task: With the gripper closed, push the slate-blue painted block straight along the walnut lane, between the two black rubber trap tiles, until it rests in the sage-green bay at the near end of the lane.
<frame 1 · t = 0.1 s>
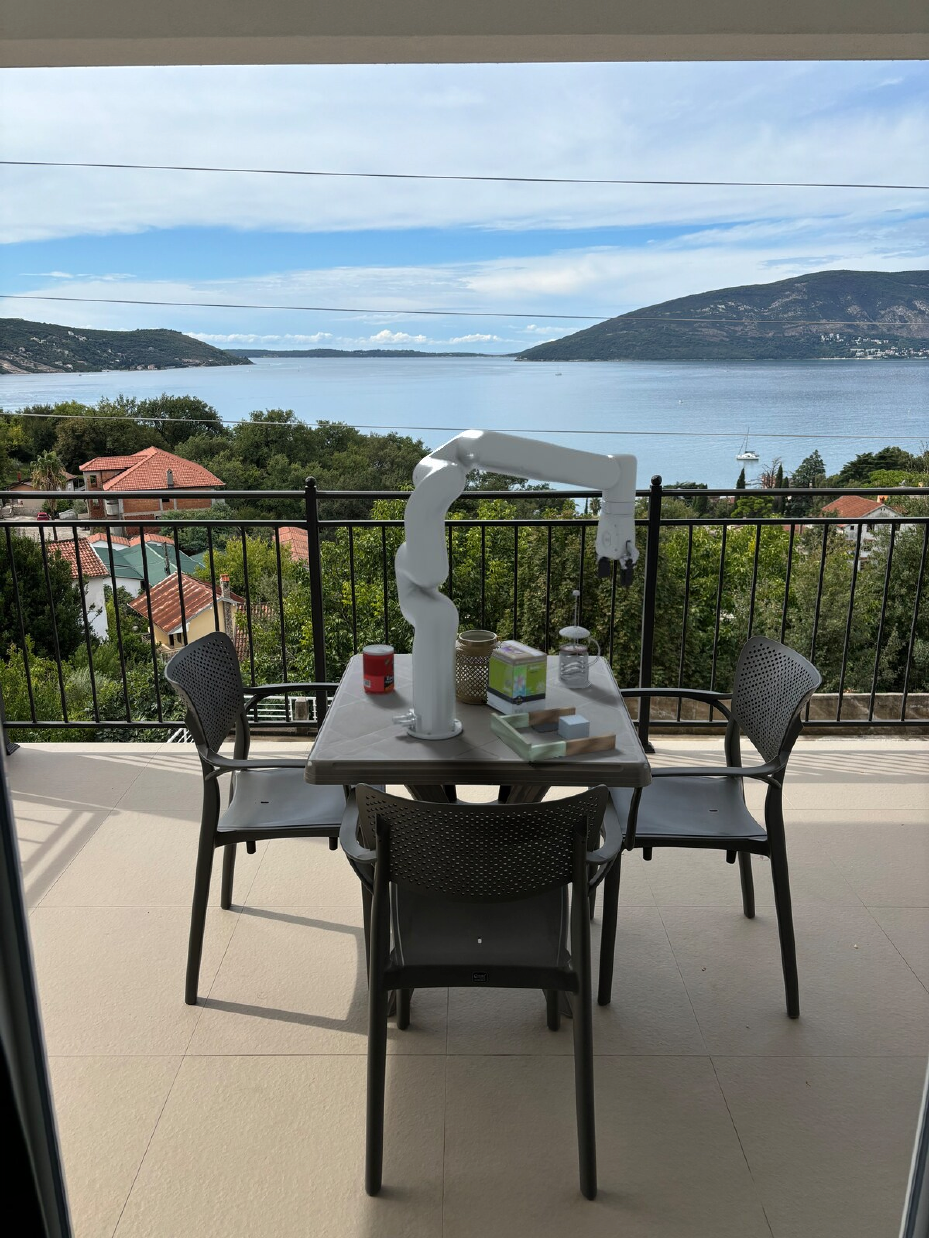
hand: (614, 581, 205), 31 cm above the table, tool pointing down, fingers open, 9 cm apart
canned food: (379, 690, 223), on the table
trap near: (593, 744, 189), on the table
trap lane: (551, 738, 192), on the table
block: (573, 736, 194), on the table
tea box: (512, 707, 212), on the table
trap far: (546, 727, 198), on the table
french press: (576, 683, 230), on the table
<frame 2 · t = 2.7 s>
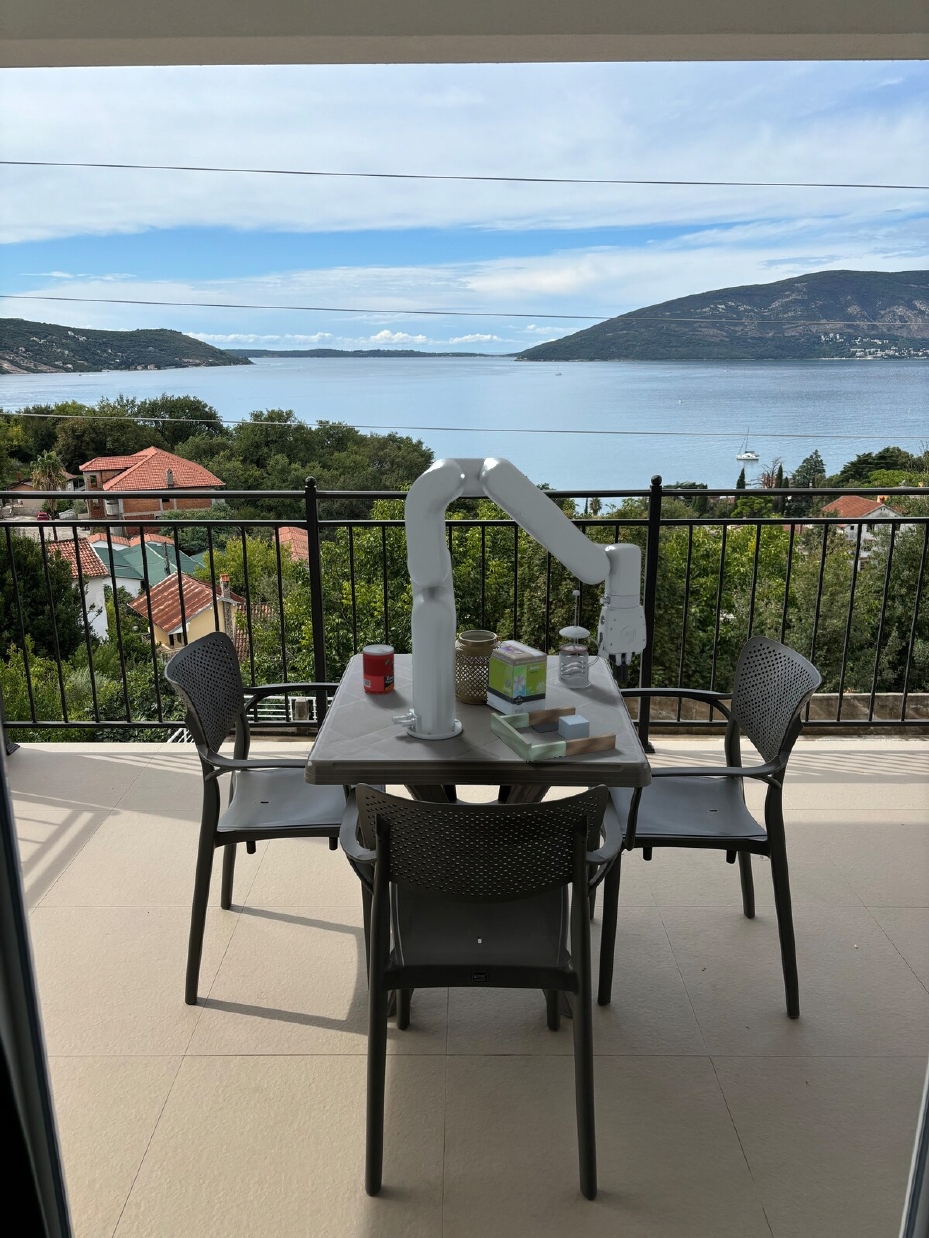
hand: (619, 680, 195), 12 cm above the table, tool pointing down, fingers closed
nothing on the table moved.
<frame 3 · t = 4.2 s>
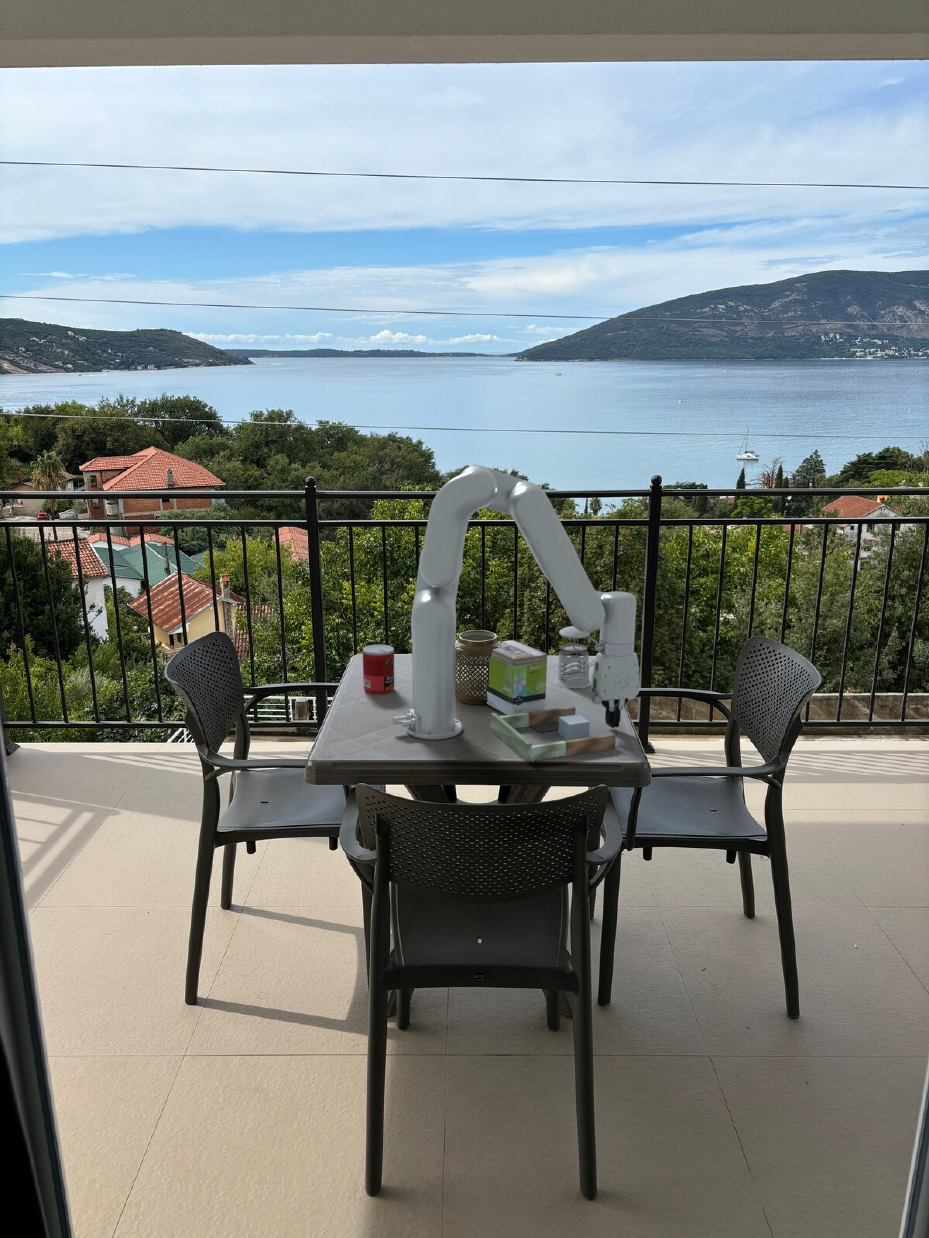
hand: (612, 725, 197), 1 cm above the table, tool pointing down, fingers closed
nothing on the table moved.
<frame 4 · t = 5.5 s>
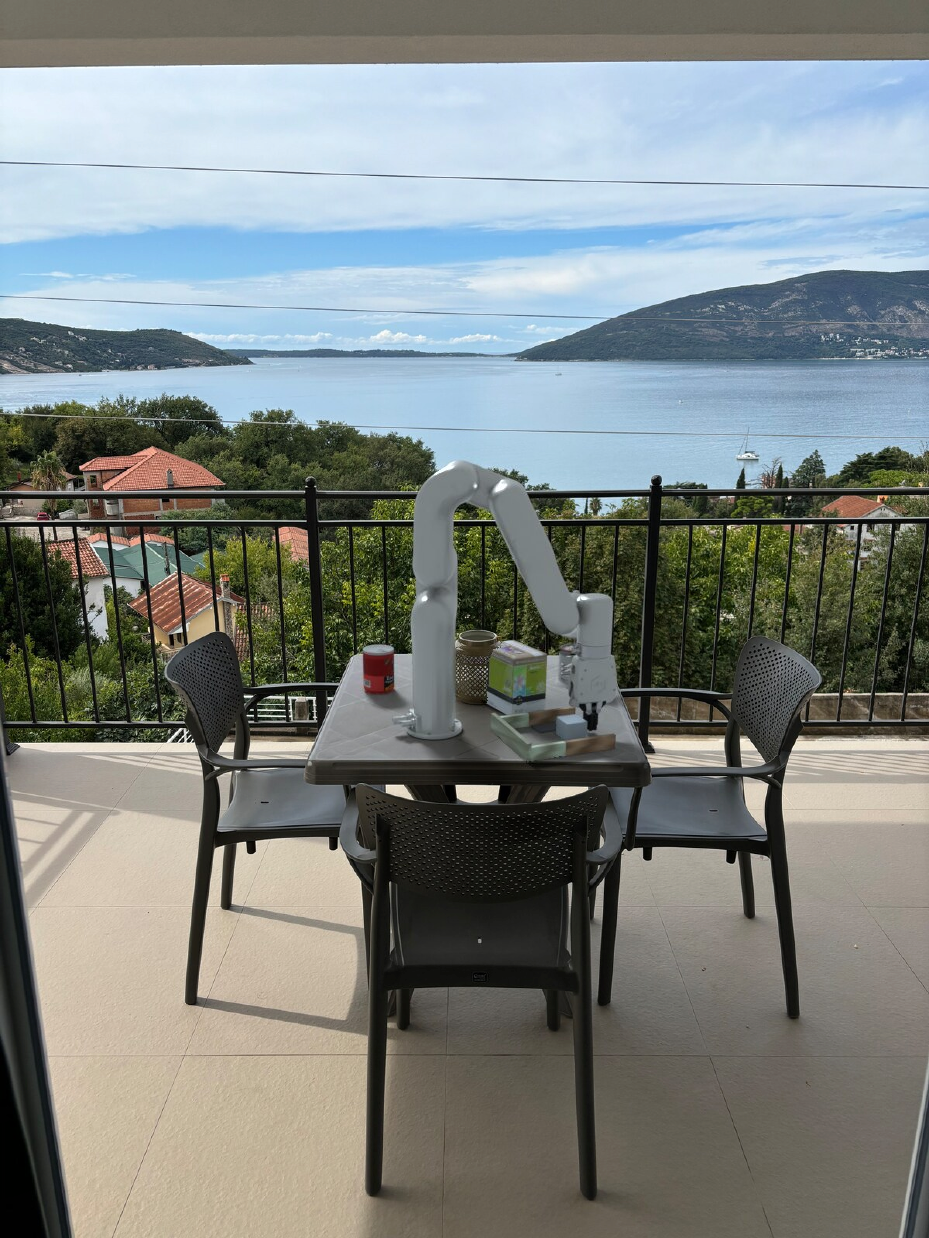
hand: (590, 728, 195), 1 cm above the table, tool pointing down, fingers closed
block: (571, 736, 194), on the table, touching gripper
everything else where it was.
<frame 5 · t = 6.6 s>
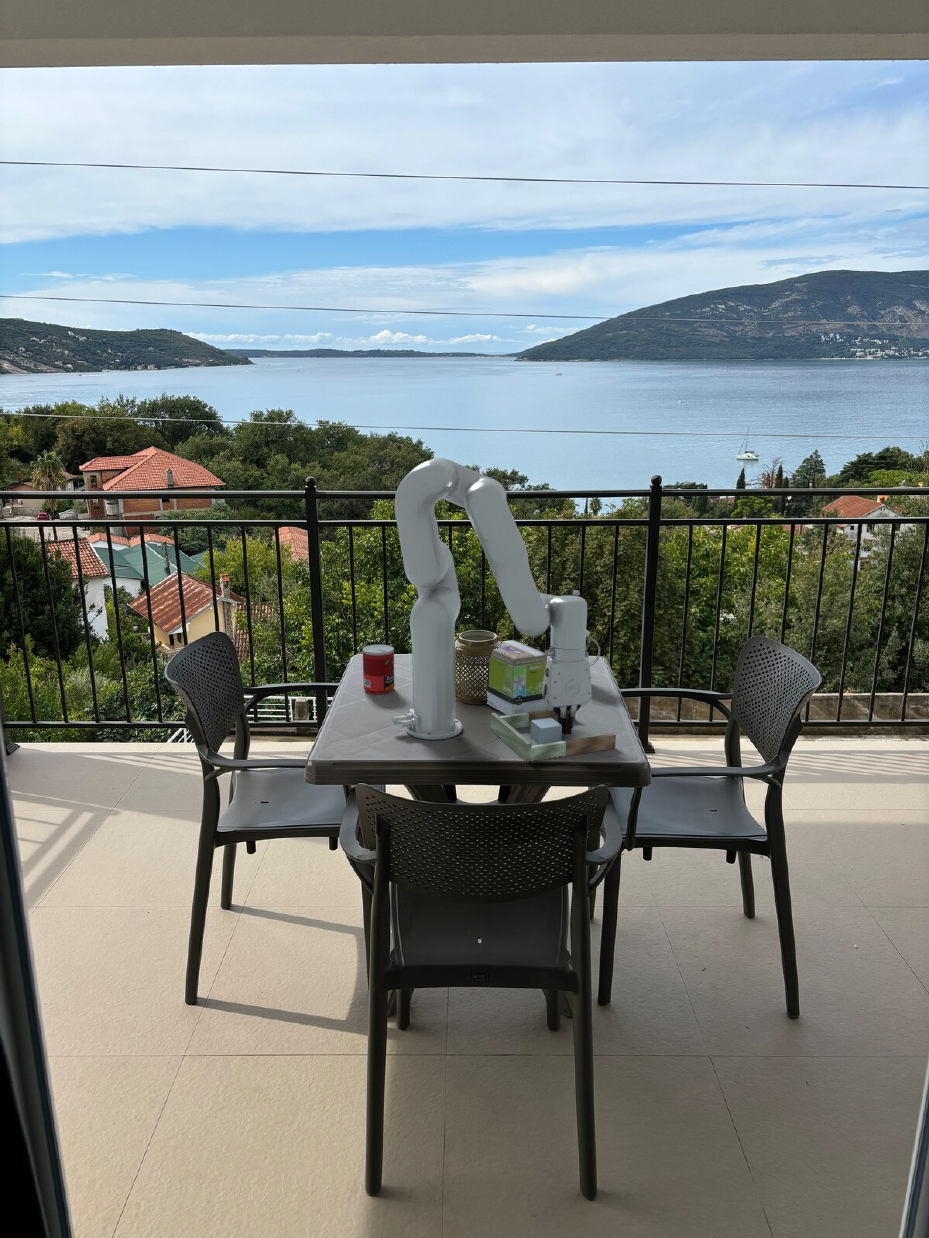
hand: (564, 732, 193), 1 cm above the table, tool pointing down, fingers closed
block: (545, 739, 191), on the table, touching gripper
everything else where it was.
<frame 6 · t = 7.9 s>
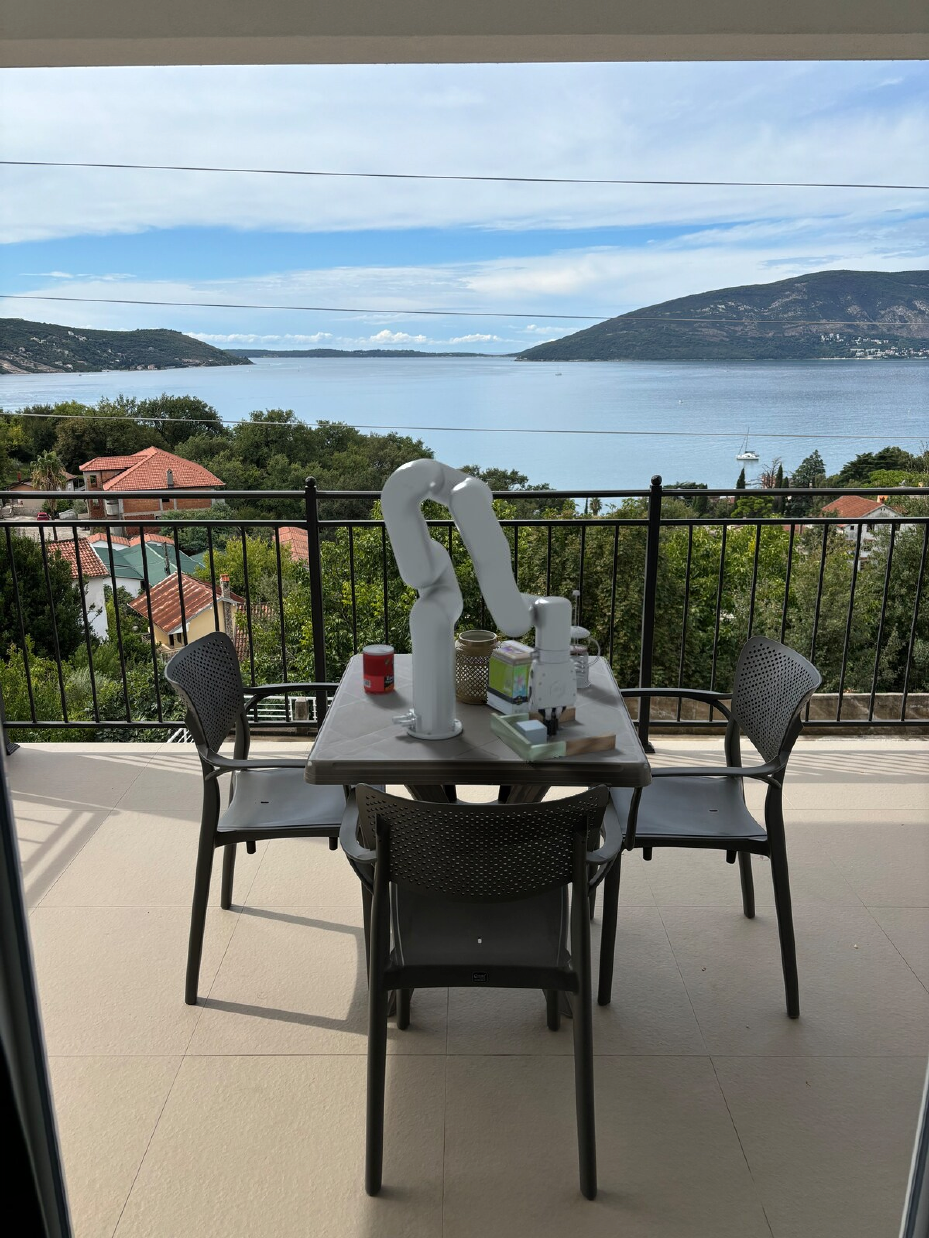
hand: (550, 734, 192), 1 cm above the table, tool pointing down, fingers closed
block: (531, 742, 190), on the table, touching gripper
everything else where it was.
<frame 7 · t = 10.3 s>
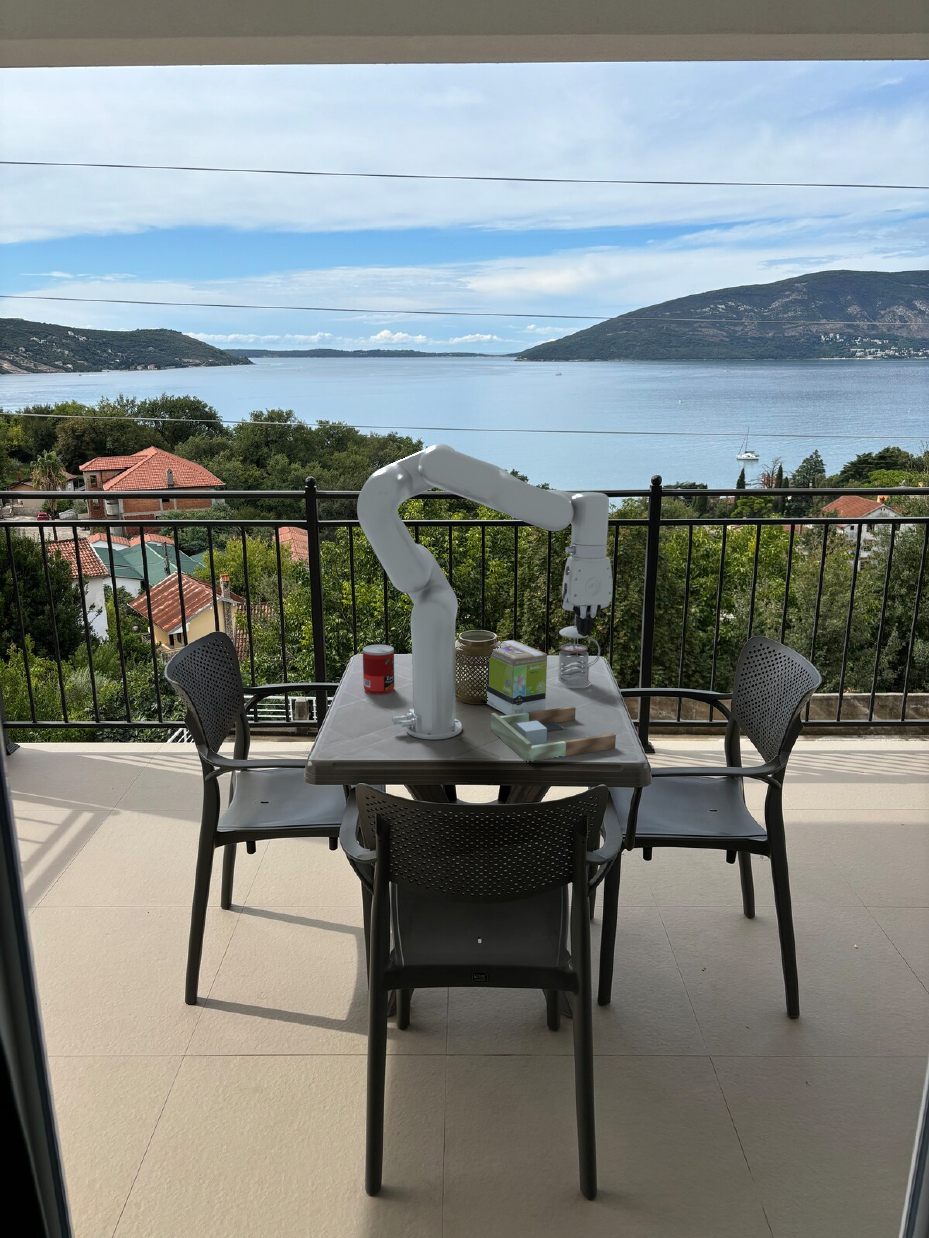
hand: (584, 634, 189), 23 cm above the table, tool pointing down, fingers closed
block: (531, 742, 190), on the table
everything else where it was.
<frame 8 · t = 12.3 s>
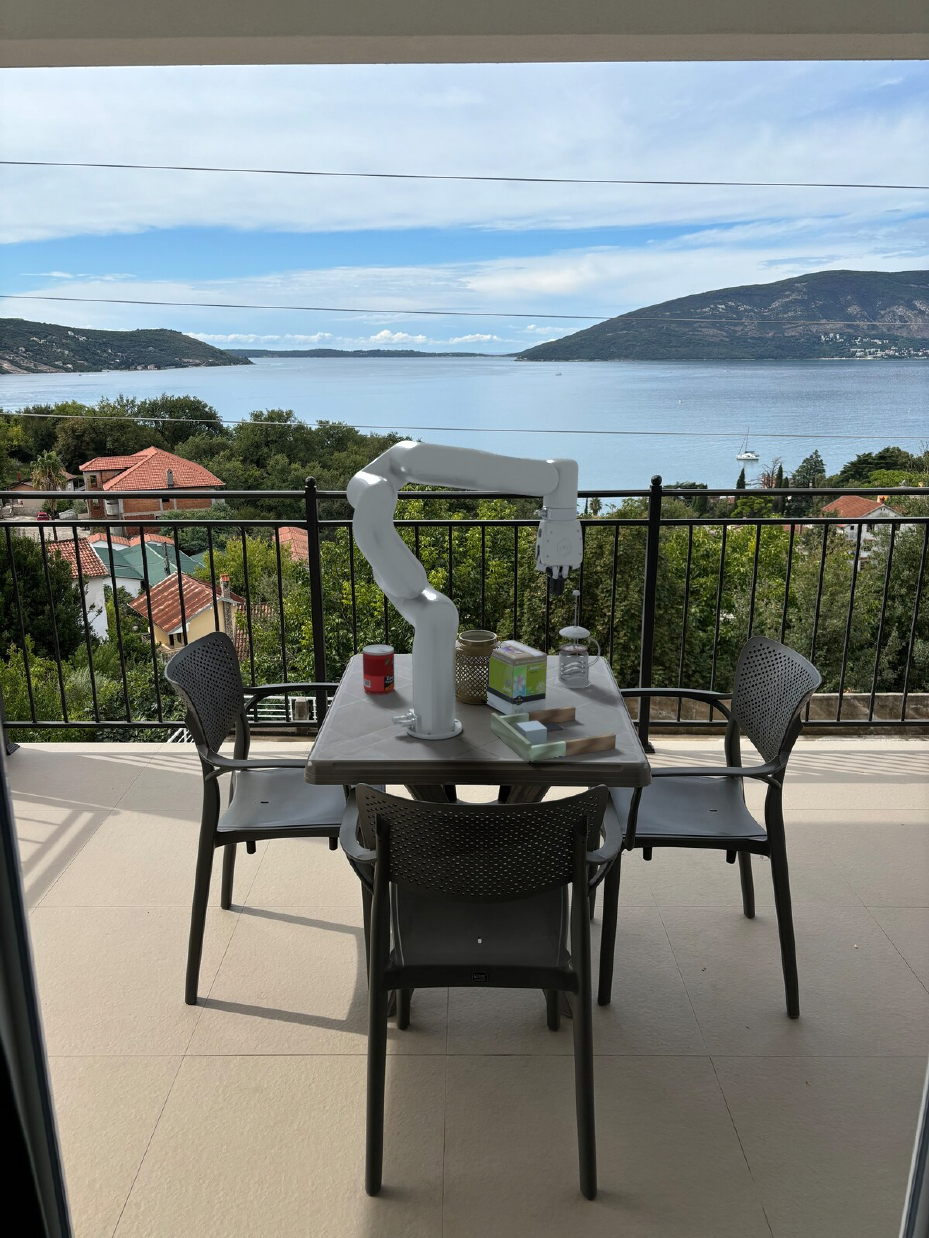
hand: (557, 594, 200), 29 cm above the table, tool pointing down, fingers closed
nothing on the table moved.
at the end: block inside the target area (0.9 cm from its centre), on the table; block tilted 0°; block moved 10.6 cm from its start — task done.
